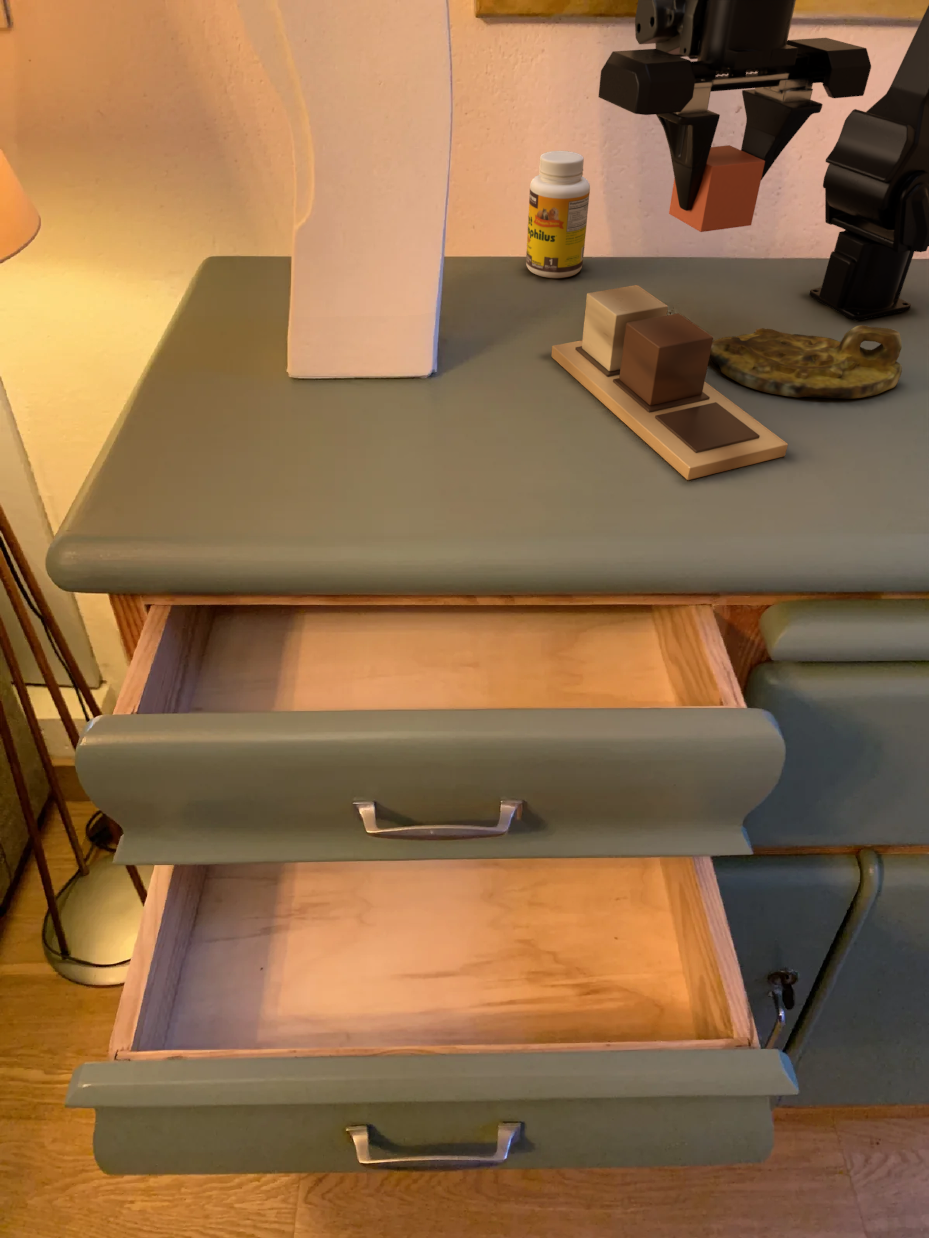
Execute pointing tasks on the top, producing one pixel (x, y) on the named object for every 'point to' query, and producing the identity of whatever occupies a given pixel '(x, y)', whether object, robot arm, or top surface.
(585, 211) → the supplement bottle
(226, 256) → the top surface
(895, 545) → the top surface
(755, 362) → the olive brown carved pendant
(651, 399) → the dark brown cube
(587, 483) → the top surface
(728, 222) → the orange-red cube
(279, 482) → the top surface
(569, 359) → the word board
